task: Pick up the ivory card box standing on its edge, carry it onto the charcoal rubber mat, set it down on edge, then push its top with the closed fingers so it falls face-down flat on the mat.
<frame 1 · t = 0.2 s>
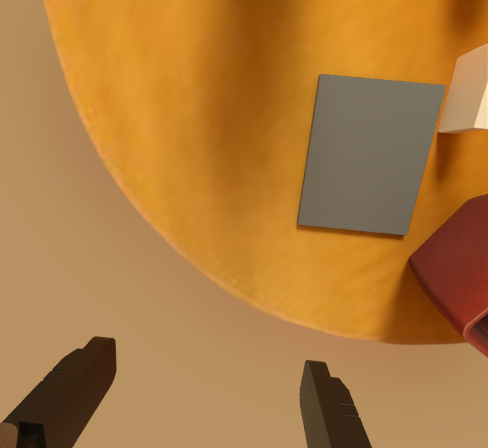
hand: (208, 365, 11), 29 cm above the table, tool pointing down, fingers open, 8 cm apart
card box: (454, 97, 34), on the table
plant pot: (465, 252, 39), on the table
mat: (364, 160, 36), on the table
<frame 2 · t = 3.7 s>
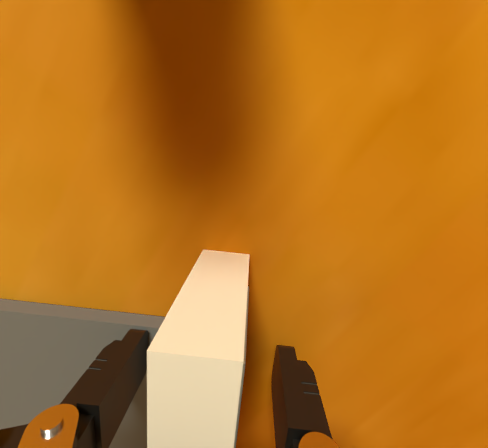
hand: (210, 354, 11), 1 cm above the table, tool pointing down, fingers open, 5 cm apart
card box: (219, 339, 12), on the table
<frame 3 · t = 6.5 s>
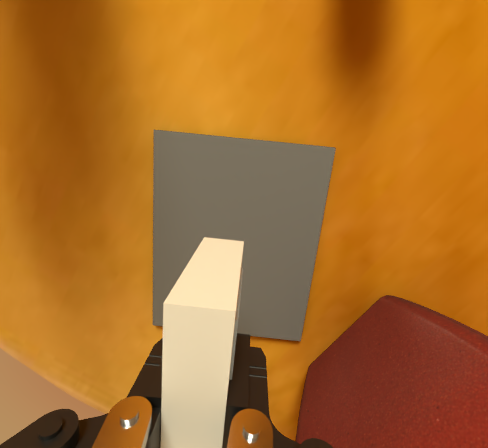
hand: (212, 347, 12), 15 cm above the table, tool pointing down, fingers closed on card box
card box: (217, 317, 14), point 12 cm above the table, touching gripper
plant pot: (384, 359, 29), on the table
mat: (235, 243, 26), on the table
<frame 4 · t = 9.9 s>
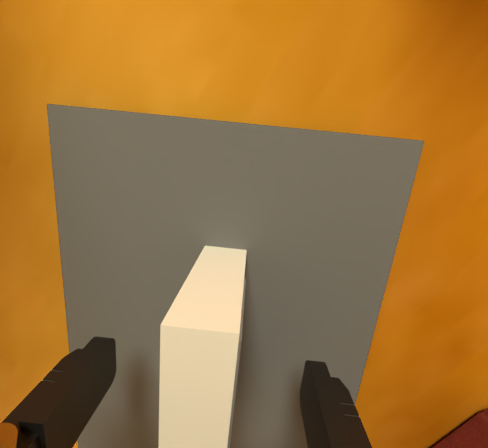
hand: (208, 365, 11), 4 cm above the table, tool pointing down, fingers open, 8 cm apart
card box: (219, 328, 13), point 1 cm above the table, touching mat
mat: (219, 317, 14), on the table
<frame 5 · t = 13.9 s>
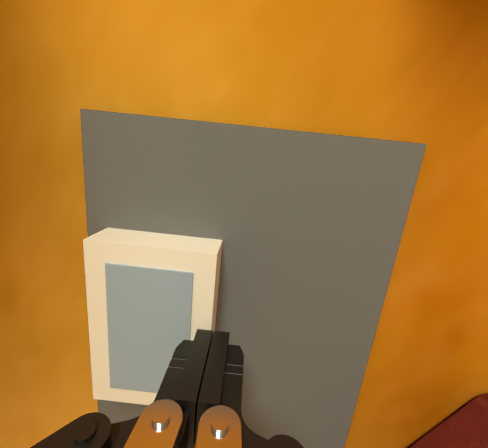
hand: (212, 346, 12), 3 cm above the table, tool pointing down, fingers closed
card box: (213, 327, 13), point 2 cm above the table, tilted 90°, touching mat
mat: (233, 307, 15), on the table
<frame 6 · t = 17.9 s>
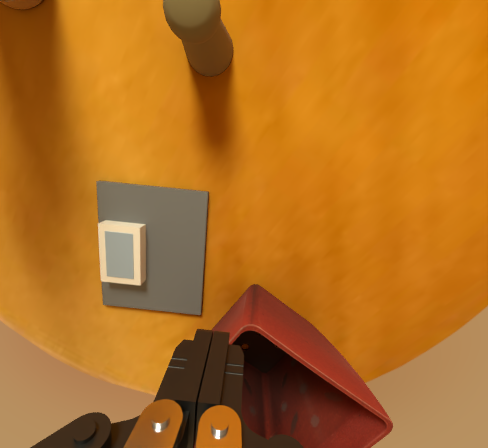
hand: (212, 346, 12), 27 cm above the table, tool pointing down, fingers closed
cork: (209, 50, 33), on the table
card box: (143, 255, 38), point 2 cm above the table, tilted 90°, touching mat
plant pot: (260, 328, 43), on the table
mat: (153, 250, 40), on the table
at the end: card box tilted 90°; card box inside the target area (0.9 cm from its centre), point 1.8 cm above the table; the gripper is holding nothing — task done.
